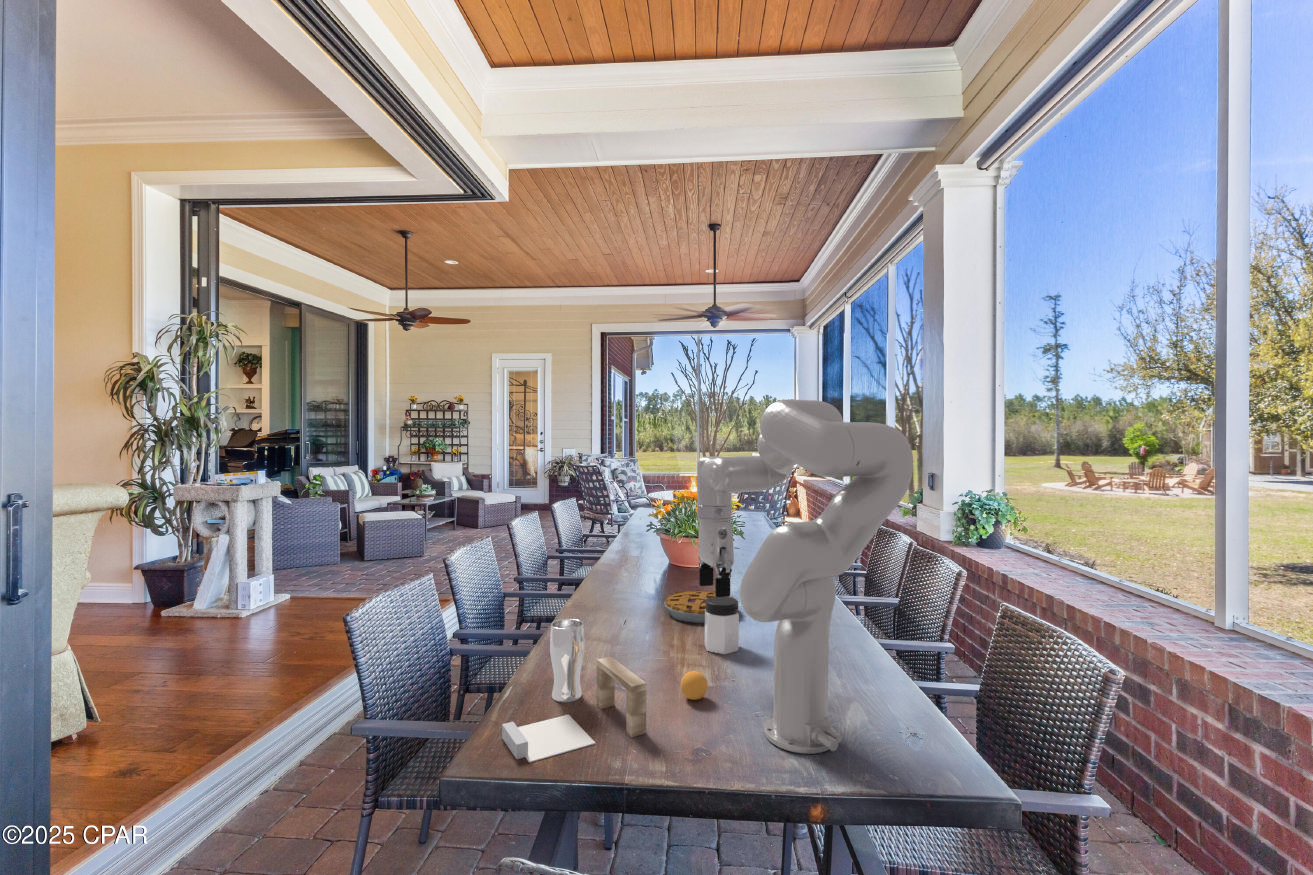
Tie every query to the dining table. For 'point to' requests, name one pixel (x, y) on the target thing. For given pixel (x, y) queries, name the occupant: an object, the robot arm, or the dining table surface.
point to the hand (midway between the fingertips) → (714, 590)
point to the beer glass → (567, 658)
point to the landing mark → (554, 737)
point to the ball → (694, 685)
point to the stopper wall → (515, 740)
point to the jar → (721, 625)
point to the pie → (688, 605)
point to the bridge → (634, 699)
